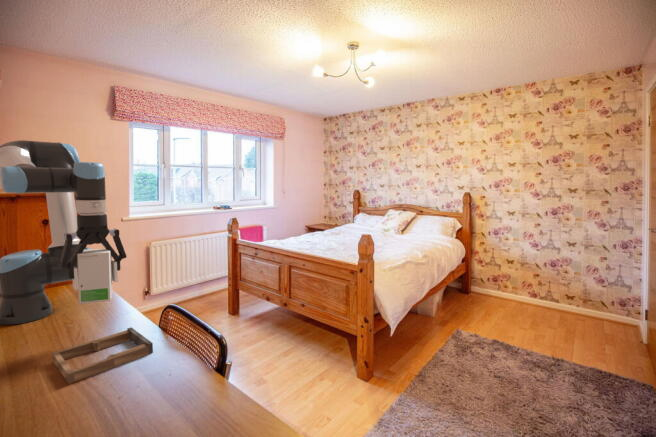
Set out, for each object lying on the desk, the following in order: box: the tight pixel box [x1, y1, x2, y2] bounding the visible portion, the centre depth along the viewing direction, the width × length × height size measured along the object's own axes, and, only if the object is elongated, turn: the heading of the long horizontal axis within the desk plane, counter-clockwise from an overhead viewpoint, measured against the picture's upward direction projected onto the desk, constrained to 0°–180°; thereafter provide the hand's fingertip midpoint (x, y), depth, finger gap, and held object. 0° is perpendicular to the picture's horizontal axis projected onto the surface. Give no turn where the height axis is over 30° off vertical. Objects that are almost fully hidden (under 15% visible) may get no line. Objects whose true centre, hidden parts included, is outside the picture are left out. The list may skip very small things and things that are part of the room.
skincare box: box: [77, 248, 113, 305], centre depth 104 cm, size 8×7×16 cm
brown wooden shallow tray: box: [51, 326, 154, 385], centre depth 95 cm, size 15×20×3 cm
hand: (96, 284), depth 104 cm, fingers closed on skincare box, 10 cm apart
